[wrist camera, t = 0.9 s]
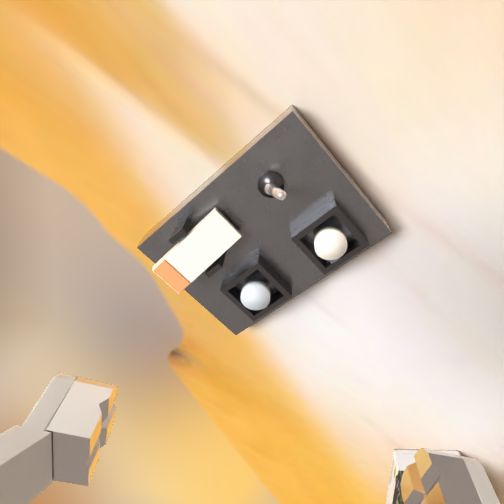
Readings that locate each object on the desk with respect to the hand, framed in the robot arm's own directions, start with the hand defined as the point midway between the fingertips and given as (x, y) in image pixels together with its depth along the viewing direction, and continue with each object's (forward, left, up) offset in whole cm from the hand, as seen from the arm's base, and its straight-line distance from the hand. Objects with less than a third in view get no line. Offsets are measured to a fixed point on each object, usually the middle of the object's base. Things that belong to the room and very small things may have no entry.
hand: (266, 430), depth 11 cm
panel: (+9, +7, -35) cm, 37 cm away
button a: (+3, +11, -30) cm, 32 cm away
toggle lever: (+4, +3, -31) cm, 31 cm away
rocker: (+14, +3, -31) cm, 35 cm away
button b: (+13, +11, -30) cm, 35 cm away
